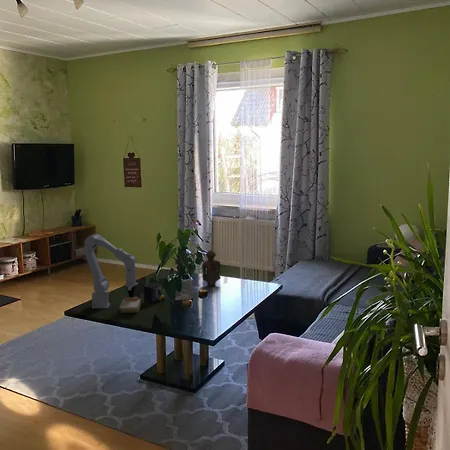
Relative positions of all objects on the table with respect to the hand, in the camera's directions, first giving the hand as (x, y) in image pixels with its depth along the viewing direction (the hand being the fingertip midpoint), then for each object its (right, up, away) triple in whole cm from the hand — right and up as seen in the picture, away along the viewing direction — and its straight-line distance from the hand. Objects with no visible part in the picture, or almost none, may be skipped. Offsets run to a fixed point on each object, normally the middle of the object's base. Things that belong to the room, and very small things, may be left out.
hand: (131, 298), depth 288 cm
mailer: (0, -6, -1) cm, 6 cm away
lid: (0, -3, -6) cm, 7 cm away
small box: (+11, -4, +14) cm, 18 cm away
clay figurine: (+47, +1, +45) cm, 65 cm away
